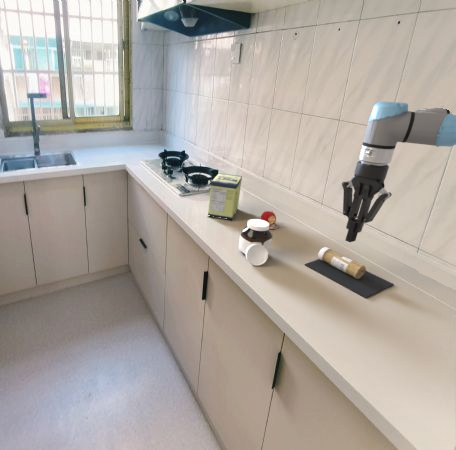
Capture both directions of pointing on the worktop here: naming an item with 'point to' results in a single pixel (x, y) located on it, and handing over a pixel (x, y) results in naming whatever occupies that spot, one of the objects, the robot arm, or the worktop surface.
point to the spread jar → (256, 241)
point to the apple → (269, 219)
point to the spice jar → (342, 262)
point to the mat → (351, 279)
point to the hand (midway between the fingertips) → (350, 240)
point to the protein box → (224, 195)
